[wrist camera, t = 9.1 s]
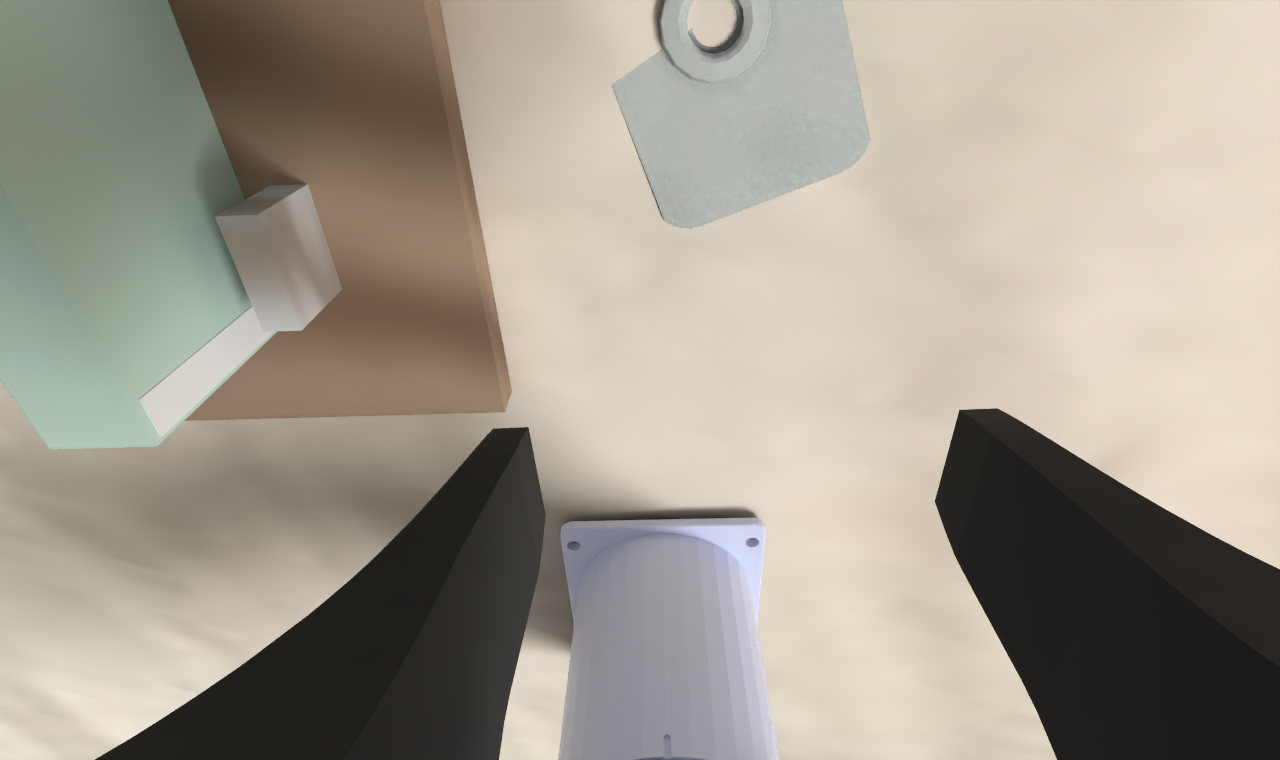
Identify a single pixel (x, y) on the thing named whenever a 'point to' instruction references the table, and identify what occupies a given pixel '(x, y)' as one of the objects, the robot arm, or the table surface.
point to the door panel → (112, 226)
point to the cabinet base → (348, 210)
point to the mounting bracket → (745, 108)
